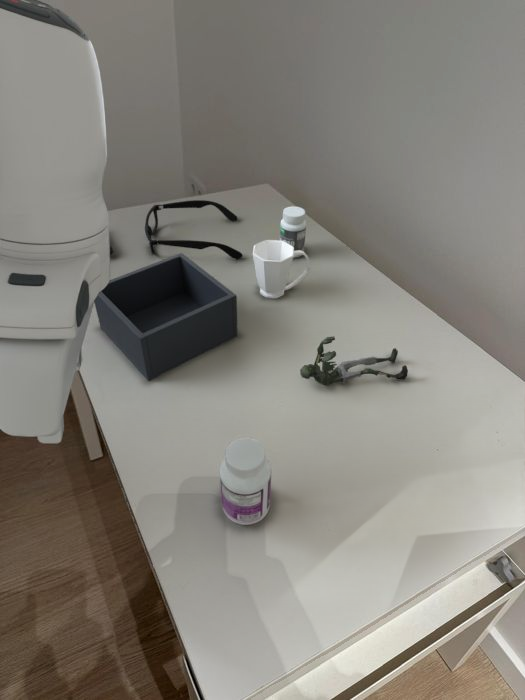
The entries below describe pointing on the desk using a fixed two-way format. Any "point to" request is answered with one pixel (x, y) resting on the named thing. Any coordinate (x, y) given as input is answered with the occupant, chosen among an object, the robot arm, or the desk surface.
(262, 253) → the cup
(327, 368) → the zombie figurine
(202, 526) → the desk surface
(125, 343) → the bin
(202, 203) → the glasses
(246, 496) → the pill bottle
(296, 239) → the pill bottle
